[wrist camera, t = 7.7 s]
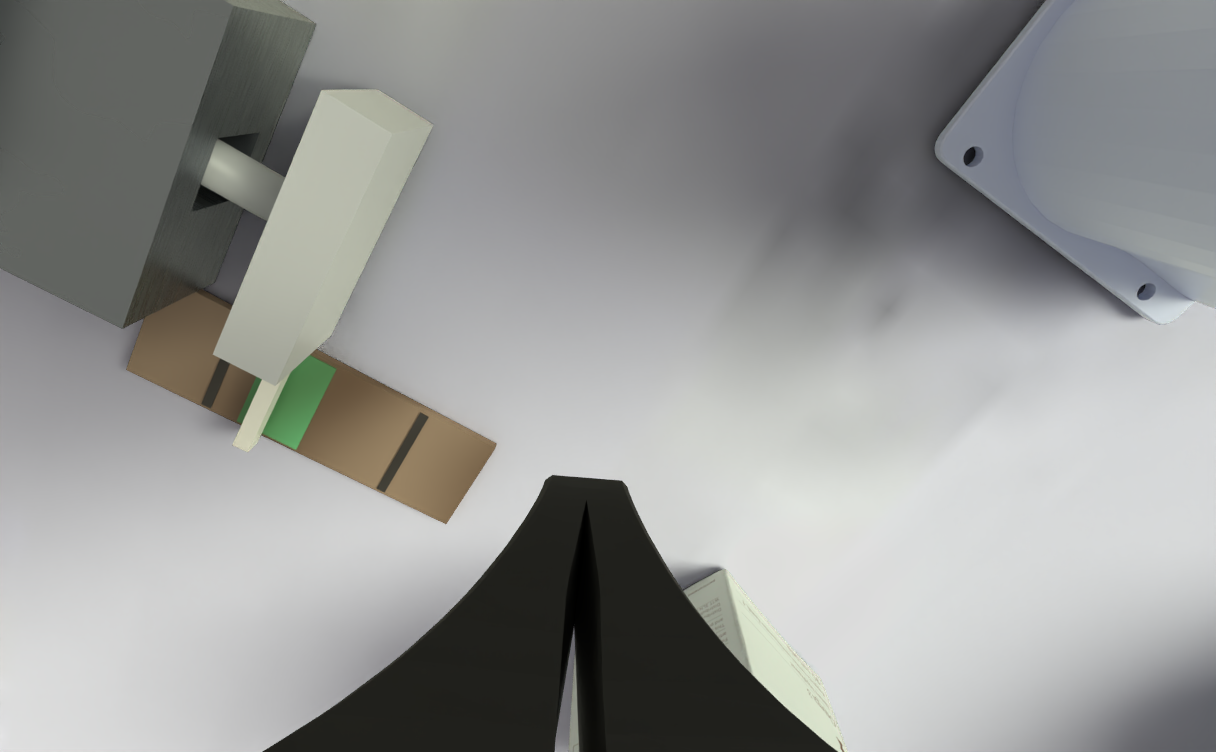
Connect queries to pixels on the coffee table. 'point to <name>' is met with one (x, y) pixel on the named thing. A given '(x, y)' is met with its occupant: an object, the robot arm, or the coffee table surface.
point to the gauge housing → (132, 140)
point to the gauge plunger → (310, 233)
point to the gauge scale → (318, 410)
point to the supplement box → (754, 657)
